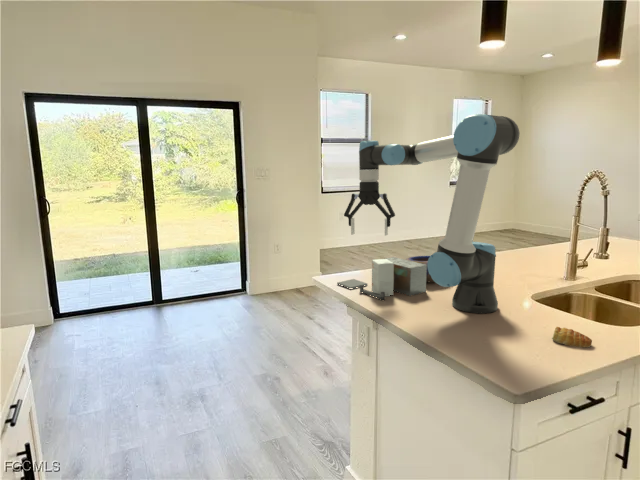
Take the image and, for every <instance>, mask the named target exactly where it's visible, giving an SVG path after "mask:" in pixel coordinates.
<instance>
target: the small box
mask: <svg viewBox="0 0 640 480" xmlns="http://www.w3.org/2000/svg"><path fill="white" fill-rule="evenodd" d="M393 286H394V263H392V262H391V261H389V260H387V259H386V258H380V259H371V292H372V291H373V292H374V293H377V294H380V295H381V292H385V297H391V296H390V295H393V296H394V291H393Z"/></svg>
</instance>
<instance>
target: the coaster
mask: <svg viewBox="0 0 640 480" xmlns="http://www.w3.org/2000/svg"><path fill="white" fill-rule="evenodd" d="M337 284H340V285H343V286H345V287H348V288H356V287H360V285H363V286H364V285H367V286H368V283H367V282H364V281H361V280H358V279H355V278H352V279H347V280H342V281H339V282H338V281H337V283H336V285H337ZM345 287H344V288H345ZM364 287H365V286H364ZM356 289H357V288H356Z"/></svg>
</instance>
